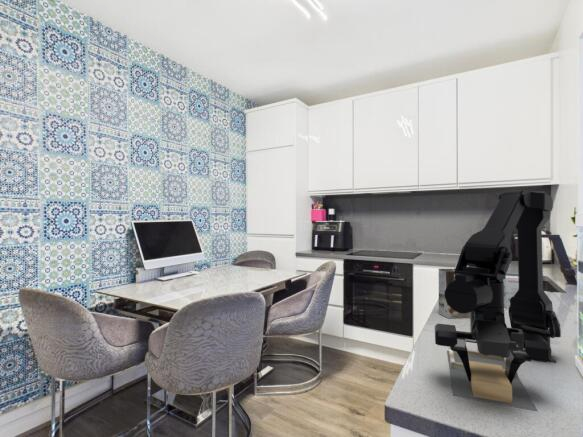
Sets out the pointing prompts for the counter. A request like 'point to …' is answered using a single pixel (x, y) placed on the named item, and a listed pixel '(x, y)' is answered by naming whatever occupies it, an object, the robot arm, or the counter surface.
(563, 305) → the counter surface
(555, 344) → the counter surface
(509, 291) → the ink box
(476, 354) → the frame
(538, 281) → the robot arm
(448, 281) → the coffee box
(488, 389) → the tile
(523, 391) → the mat
